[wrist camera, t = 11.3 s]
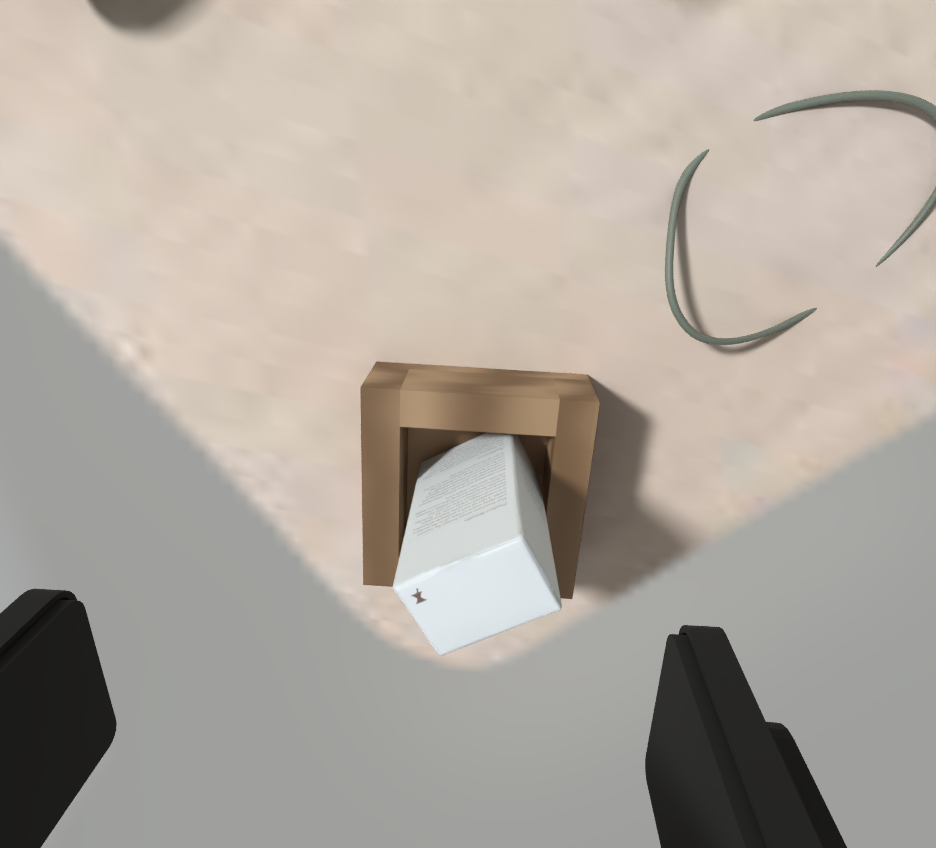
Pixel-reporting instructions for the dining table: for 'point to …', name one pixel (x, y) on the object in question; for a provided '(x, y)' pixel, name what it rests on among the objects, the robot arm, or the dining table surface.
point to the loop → (898, 97)
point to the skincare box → (477, 544)
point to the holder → (459, 420)
